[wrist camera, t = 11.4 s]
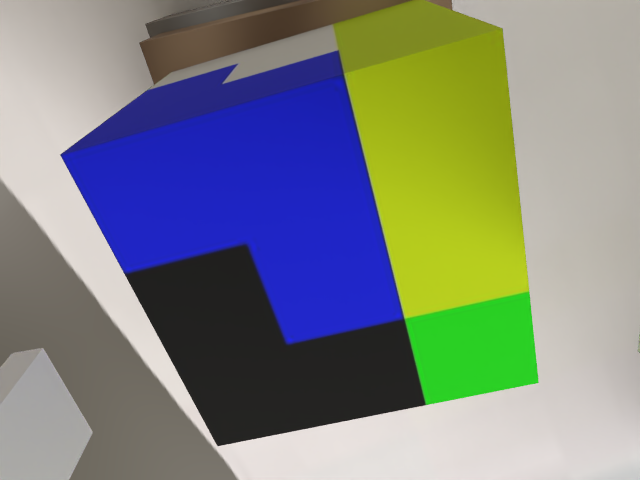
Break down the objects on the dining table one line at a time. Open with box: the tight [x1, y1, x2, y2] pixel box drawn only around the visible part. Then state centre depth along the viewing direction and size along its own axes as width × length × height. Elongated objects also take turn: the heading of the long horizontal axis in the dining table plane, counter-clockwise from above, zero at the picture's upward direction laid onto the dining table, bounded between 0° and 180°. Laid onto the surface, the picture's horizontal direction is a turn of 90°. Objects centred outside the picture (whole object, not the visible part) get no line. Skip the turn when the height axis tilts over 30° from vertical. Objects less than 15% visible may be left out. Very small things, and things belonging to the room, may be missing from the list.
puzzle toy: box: [60, 0, 538, 446], centre depth 18 cm, size 10×10×10 cm
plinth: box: [140, 0, 452, 85], centre depth 25 cm, size 13×13×7 cm
